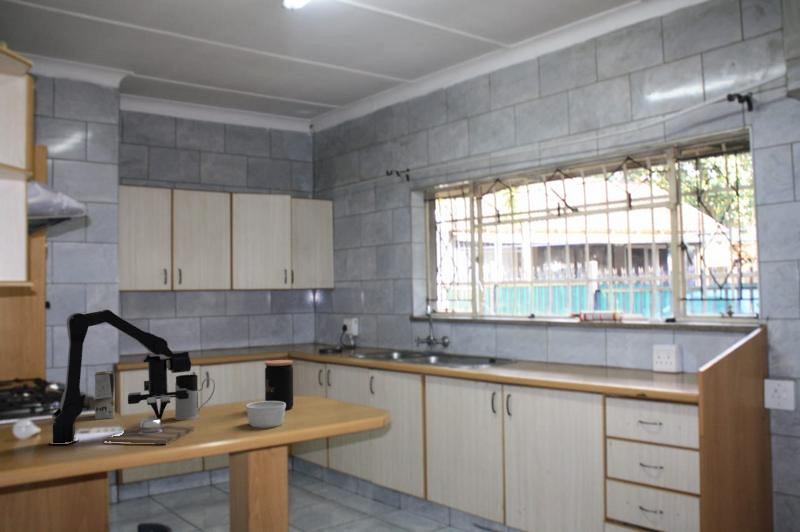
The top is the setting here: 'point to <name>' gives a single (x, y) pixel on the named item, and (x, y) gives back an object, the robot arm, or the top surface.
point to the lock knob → (150, 424)
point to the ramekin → (266, 413)
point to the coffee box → (104, 394)
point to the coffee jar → (279, 382)
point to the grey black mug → (189, 407)
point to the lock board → (151, 435)
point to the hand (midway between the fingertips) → (159, 422)
